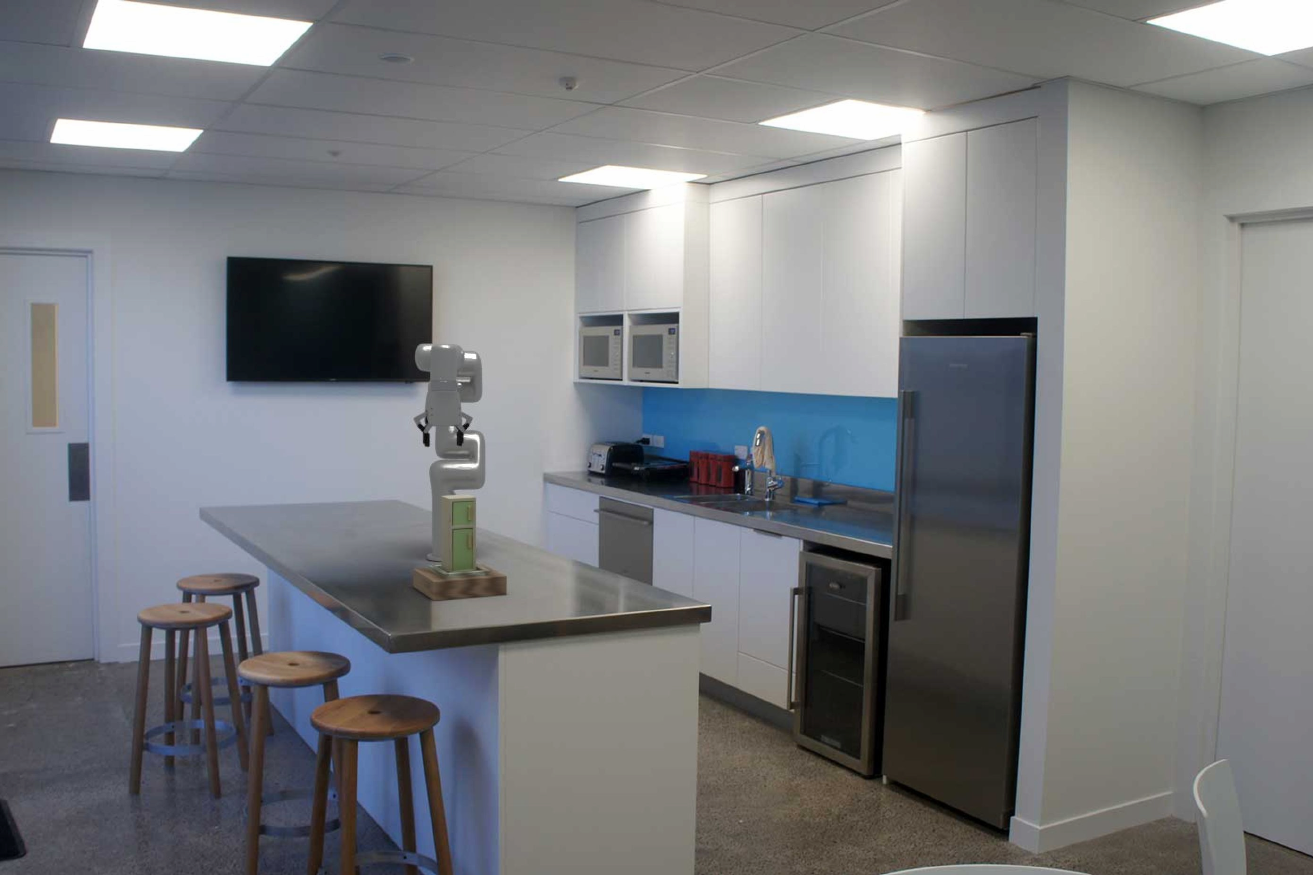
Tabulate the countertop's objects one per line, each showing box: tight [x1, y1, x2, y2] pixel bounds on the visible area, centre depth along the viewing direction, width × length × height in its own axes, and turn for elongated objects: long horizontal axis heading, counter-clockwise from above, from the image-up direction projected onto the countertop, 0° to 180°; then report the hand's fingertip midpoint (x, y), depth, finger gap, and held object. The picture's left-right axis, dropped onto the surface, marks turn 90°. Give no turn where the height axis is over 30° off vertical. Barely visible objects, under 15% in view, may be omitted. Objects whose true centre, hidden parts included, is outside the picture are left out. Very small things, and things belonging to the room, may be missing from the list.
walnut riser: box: [412, 563, 508, 602], centre depth 306 cm, size 20×20×6 cm
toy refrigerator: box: [440, 494, 477, 573], centre depth 306 cm, size 8×7×21 cm
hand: (443, 446), depth 324 cm, fingers open, 9 cm apart
